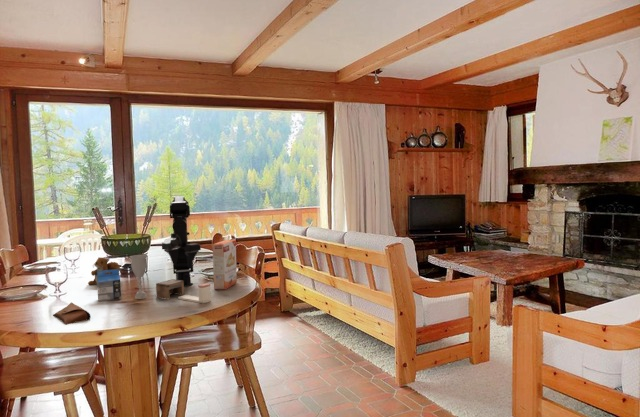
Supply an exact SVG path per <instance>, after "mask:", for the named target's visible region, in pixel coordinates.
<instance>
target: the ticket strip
mask: <svg viewBox="0 0 640 417" xmlns="http://www.w3.org/2000/svg"><path fill="white" fill-rule="evenodd" d="M197 288H198V296H196V295H195V296H194V295H189V294H183V295H181V296H178V297H177V298H178V300H183V301H188V302H193V303H198V304H207V303H209V302H211V301H212V300H211V298H212V297H211V296H212V295H211V283H202V284H200V285H197Z"/></svg>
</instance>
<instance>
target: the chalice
mask: <svg viewBox="0 0 640 417" xmlns="http://www.w3.org/2000/svg"><path fill="white" fill-rule="evenodd" d="M129 258H130V268H131V270H132V273H133V275H134V276H135V277H136V278H137V279H138V281H137V283H138V286H137V287H138V291H137V292H136V294H135V296H134V300H142V299H146V298H148V296H147V293H146V292H145V291H143V290H142V289H143V288H142V287H143V285H142V283H143V282H142V278H143V277H144V275H145V273H146V270H147V267H148V266H147V258H148V254H136V255H135V254H134V255H130V256H129Z"/></svg>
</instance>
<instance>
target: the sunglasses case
mask: <svg viewBox="0 0 640 417" xmlns="http://www.w3.org/2000/svg"><path fill="white" fill-rule="evenodd" d="M52 316H54V317H56V318H58V319H59V320H61V322H63V323H64V325H70V324H74V323H76V324H77V323H79V322H84V321H85V322H86V321H89V320H90V319H91V313H90V312H88V311H87V310H85V309H84V308H82V307H80V306H79V305H77V304H75V303H73V302H70V303H68V305H67V306H65V307H63V308H62V309H59V311H57V312H55V313H53V314H52Z"/></svg>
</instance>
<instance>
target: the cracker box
mask: <svg viewBox="0 0 640 417" xmlns="http://www.w3.org/2000/svg"><path fill="white" fill-rule="evenodd" d="M236 245H237V240H235V239H226V240H222V241H218V242H216V243H212V267H213V268H212V269H213V270H212V272H213V289H214V290H227V289H228V288H231V287H232V286H233V285H235V284H237V283H238V278H237V246H236Z"/></svg>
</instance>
